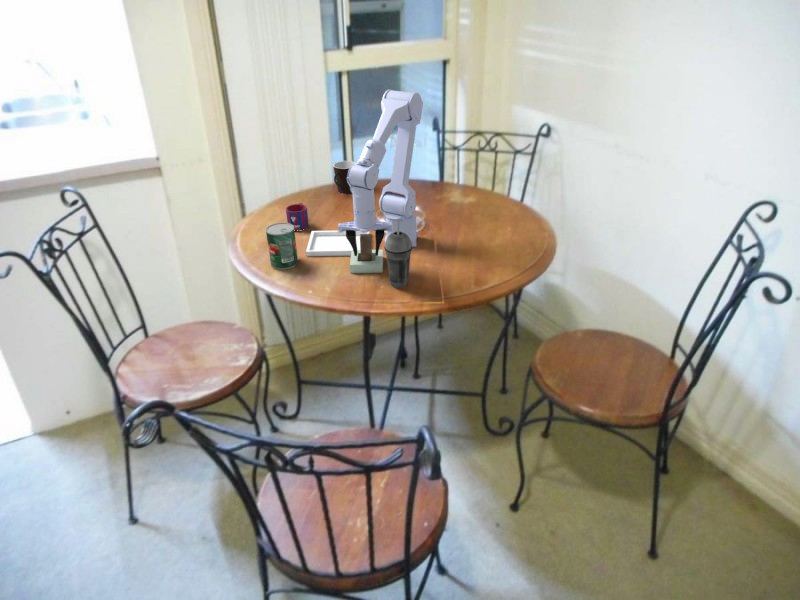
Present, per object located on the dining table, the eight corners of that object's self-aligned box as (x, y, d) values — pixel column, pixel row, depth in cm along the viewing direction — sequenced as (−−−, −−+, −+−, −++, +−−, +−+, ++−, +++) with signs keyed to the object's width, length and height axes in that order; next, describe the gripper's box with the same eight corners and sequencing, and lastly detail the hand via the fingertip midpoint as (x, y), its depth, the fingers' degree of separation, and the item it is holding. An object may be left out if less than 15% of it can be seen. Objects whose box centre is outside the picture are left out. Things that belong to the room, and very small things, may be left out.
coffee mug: (349, 184, 216) (347, 159, 211) (362, 191, 211) (361, 164, 206) (323, 192, 210) (321, 166, 205) (337, 199, 205) (335, 172, 199)
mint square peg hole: (383, 258, 165) (382, 249, 164) (382, 273, 158) (382, 264, 156) (352, 259, 165) (351, 250, 164) (350, 274, 158) (349, 264, 156)
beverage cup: (411, 278, 155) (411, 210, 145) (413, 292, 149) (413, 222, 138) (385, 279, 155) (383, 211, 145) (385, 293, 149) (383, 223, 138)
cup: (285, 230, 182) (282, 211, 179) (296, 218, 191) (294, 199, 187) (304, 232, 181) (302, 212, 178) (315, 219, 189) (313, 200, 186)
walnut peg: (372, 262, 162) (371, 233, 158) (372, 267, 160) (370, 238, 155) (362, 262, 162) (360, 233, 158) (361, 267, 160) (359, 238, 155)
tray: (369, 235, 178) (369, 230, 177) (367, 256, 167) (367, 250, 165) (312, 236, 178) (311, 231, 177) (306, 257, 166) (305, 251, 165)
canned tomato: (264, 265, 163) (259, 230, 157) (284, 254, 169) (279, 220, 163) (285, 272, 159) (280, 236, 153) (304, 261, 165) (300, 226, 159)
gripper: (335, 215, 149) (339, 261, 156) (391, 214, 149) (392, 260, 156) (338, 205, 155) (341, 249, 162) (391, 204, 155) (392, 248, 162)
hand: (366, 254), depth 159 cm, fingers open, 5 cm apart
